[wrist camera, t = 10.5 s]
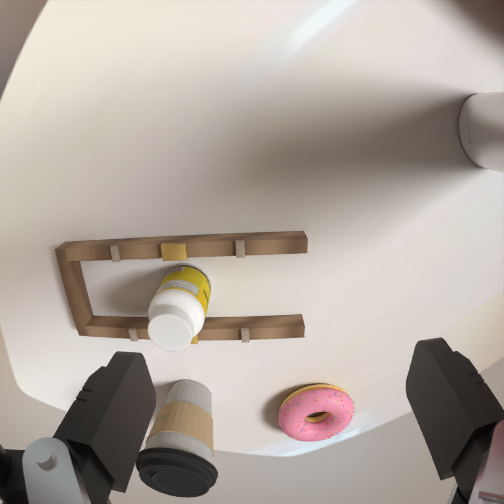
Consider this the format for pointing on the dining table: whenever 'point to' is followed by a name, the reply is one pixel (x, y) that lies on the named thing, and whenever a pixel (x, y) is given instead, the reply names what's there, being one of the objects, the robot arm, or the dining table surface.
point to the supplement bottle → (179, 307)
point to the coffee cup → (181, 444)
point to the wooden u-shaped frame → (171, 251)
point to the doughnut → (312, 401)
